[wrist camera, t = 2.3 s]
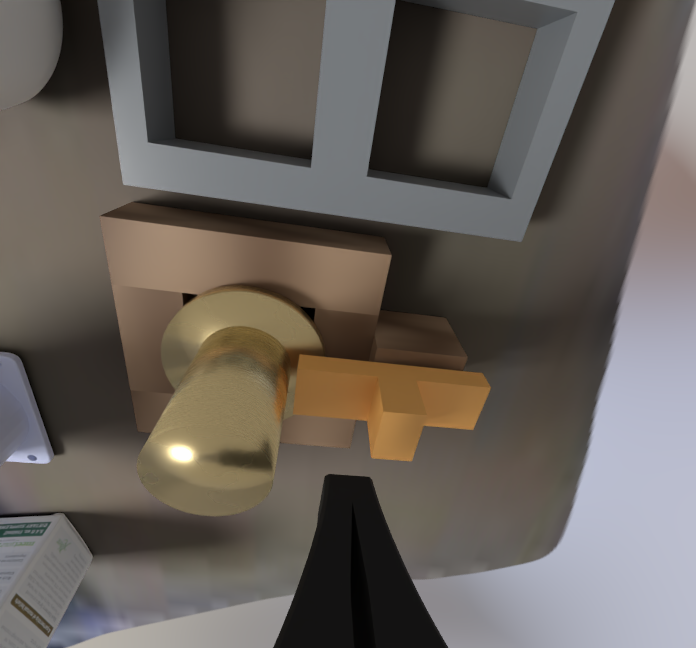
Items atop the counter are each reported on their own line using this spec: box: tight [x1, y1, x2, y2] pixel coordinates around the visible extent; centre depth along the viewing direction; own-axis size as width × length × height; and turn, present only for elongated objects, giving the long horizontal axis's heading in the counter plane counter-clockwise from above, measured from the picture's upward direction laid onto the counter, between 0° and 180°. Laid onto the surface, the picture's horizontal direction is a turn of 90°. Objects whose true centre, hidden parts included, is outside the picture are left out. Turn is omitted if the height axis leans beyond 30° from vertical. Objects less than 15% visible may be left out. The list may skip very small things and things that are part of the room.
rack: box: [97, 0, 615, 242], centre depth 13 cm, size 15×8×2 cm, turn 81°
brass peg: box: [137, 285, 326, 516], centre depth 15 cm, size 7×7×9 cm
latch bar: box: [293, 354, 491, 461], centre depth 15 cm, size 8×2×3 cm, turn 82°
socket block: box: [100, 202, 468, 448], centre depth 18 cm, size 15×11×4 cm
